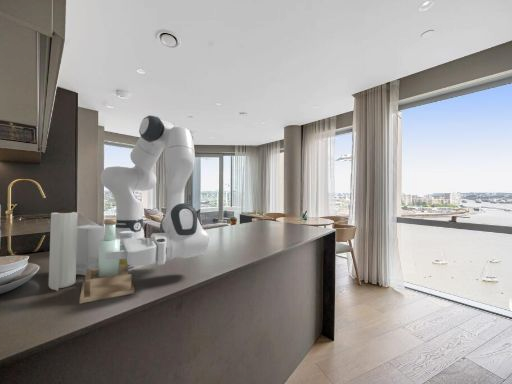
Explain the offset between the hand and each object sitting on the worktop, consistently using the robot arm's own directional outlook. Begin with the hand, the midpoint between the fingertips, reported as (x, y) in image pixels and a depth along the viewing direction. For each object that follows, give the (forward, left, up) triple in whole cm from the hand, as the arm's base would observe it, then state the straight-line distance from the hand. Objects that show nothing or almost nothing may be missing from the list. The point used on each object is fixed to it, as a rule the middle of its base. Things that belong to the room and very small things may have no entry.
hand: (105, 252), depth 65 cm
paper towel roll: (-14, -4, -11) cm, 18 cm away
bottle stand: (0, +1, -11) cm, 11 cm away
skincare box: (-20, +6, -11) cm, 23 cm away
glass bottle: (0, +1, -9) cm, 9 cm away
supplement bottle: (-14, +16, -11) cm, 23 cm away
